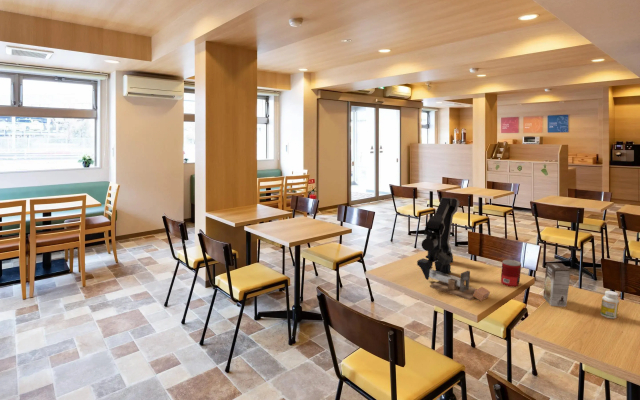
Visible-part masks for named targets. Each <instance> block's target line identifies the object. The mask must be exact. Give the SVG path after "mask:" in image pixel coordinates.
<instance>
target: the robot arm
mask: <svg viewBox="0 0 640 400" xmlns="http://www.w3.org/2000/svg"><path fill="white" fill-rule="evenodd" d="M459 207H460V200H458V198H456V197H441V198H440V200H439V204H438V206H437V209H436V211H435V213H434V215H433V216H431V217H429V219H428V221H426V224H425V227H424V232H423V235H424V236H425V238H424V239H423V240H422V242H421V247H422V250H424V251H426V252H427V255H425V258H420V259H418V260H417V262H416V266H417V267H419V268H420V270H421V271H422V274H423V276H424V278H425V280H429V278H430V277H429V273H430V269H432V270H433V265H434V267H435V269H434V270H435V271H438V272H442V273H445V274H450V273H451V274H452V271H451V266H452V265H451V264H452V263H454V255H453V252H452V248H451V245H450V237H451V231H452V224H453V218H454V215H455V214H456V213H457V212H458V210H459Z"/></svg>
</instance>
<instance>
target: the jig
mask: <svg viewBox="0 0 640 400" xmlns="http://www.w3.org/2000/svg"><path fill="white" fill-rule="evenodd" d="M470 273H471V271H470V270H466V271H464V272H462V273H460V278H461V279H460V287H458V286H455V281H454V280H451V279H448V283H445V282H442V281H439V280H437V281H436V282H433V283H431V284H429V287H430V288H432V289H435V290H438V291H441V292H444V293H447V294H449V295H453V296H456V297H458V298H462V299H464V300H468V301H471V300H473V299H475V298H476V297H474V296H473V294H474V292H475V290H476V289H477V288H476V287H473V286H470V277H471V276H470V275H471V274H470Z"/></svg>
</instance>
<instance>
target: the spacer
mask: <svg viewBox="0 0 640 400" xmlns="http://www.w3.org/2000/svg"><path fill="white" fill-rule="evenodd" d="M475 289H476V290H475V292H474V294H473V296H474V297H475V298H476V299H477V300H479V301H481V302H482V301H483V300H486V299H487V298H488V297H489V295H490V293H491V291H490V290H488V289H487V288H485V287H484V286H481V287H478V288H475Z"/></svg>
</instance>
